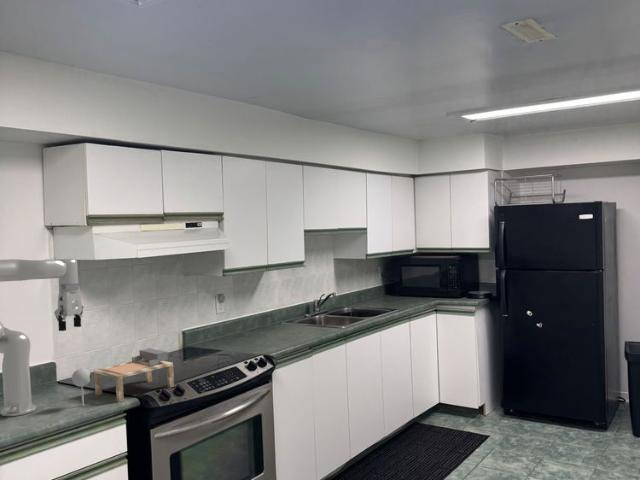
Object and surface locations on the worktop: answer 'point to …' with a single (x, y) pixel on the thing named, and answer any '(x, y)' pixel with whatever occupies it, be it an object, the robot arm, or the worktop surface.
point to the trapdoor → (144, 354)
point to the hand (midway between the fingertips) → (70, 328)
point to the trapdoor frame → (120, 377)
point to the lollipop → (81, 379)
